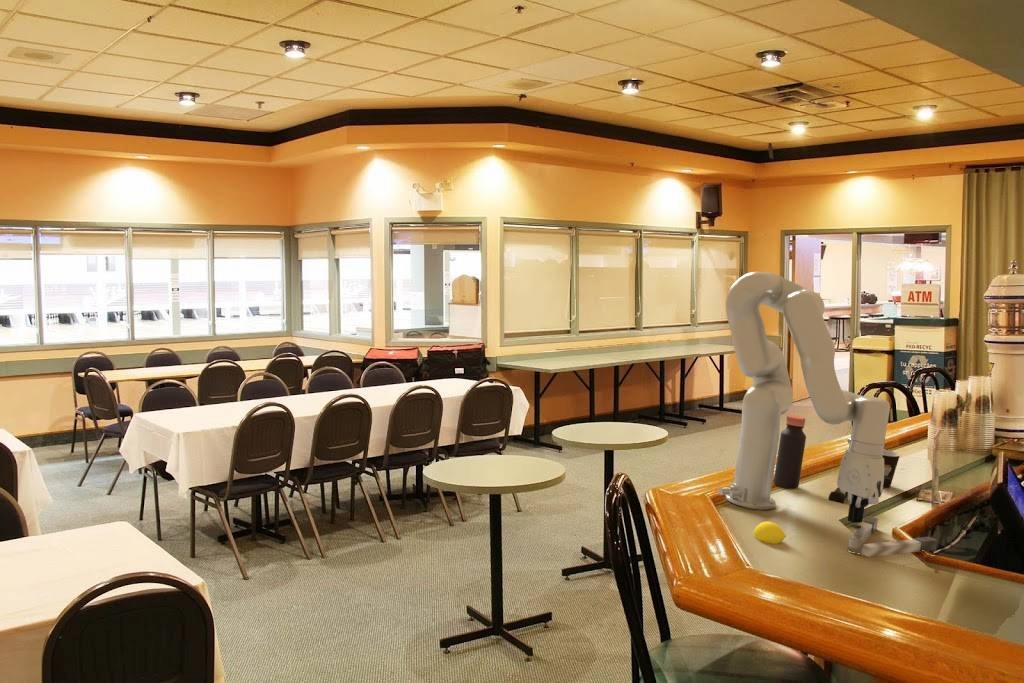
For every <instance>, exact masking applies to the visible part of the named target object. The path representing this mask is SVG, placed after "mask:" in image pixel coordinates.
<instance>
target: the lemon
mask: <svg viewBox="0 0 1024 683" xmlns="http://www.w3.org/2000/svg"><path fill="white" fill-rule="evenodd" d="M753 534H754V537H755V538H756V540H758V541H760V542H762V543H766V544H772V545H778V544H781V543H782V541H784V539H786V537H787V535H786V534H785V532H784V531H783V529H782V528H781V526H779V525H778V524H777V523H775V522H772V521H768V520H767V521H763V522H760V523H759V524H758V525H756V527H755V528H754V530H753Z"/></svg>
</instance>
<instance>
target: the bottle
mask: <svg viewBox="0 0 1024 683" xmlns="http://www.w3.org/2000/svg"><path fill="white" fill-rule="evenodd" d="M785 422H786V424H785V425H786V428H785V429H783V430H782V431H781V432H780V435H779V442H778V448H777V455H776V462H775V468H774V475H773V484H774V485H775V486H777V487H781V488H784V489H789V490H790V489H791V490H794V489H798V488H799V487H800V486H799V485H800V479H801V473H802V465H803V459H804V453H805V446H806V443H807V442H806V440H807V436H806V434H805V432H804V431H803V429H804V427H805V424H806V423H805V422H806V417H803V416H800V415H795V414H788V415H786V420H785Z"/></svg>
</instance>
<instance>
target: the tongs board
mask: <svg viewBox="0 0 1024 683" xmlns="http://www.w3.org/2000/svg"><path fill="white" fill-rule="evenodd" d="M937 545H938V540H937V539H936V538H934V537H931V536H922V537H914V538H912V539H905V540H904V539H903V540H894V541H885V542H884V541H883V542H873V543H863V542H862V541H861V540H858V539H852V538H849V540H848V546H847V551H848V550H849V551H851V552H855V553H860V555H862V554H863V555H862V556H864V555H865V556H864V557H866V556H868V557H867V558H870V557H881V556H890V555H897V554H898V555H900V554H906V553H908V554H909V553H916V552H918V553H919V552H921V551H922V550H925V551H924V552H931V551H936V550H937ZM922 552H923V551H922Z"/></svg>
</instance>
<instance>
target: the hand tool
mask: <svg viewBox="0 0 1024 683" xmlns="http://www.w3.org/2000/svg"><path fill="white" fill-rule="evenodd" d="M846 499H847V497H846V495H845V494H844V493H842V492H841V491H840V488H839V487H838V486H837V487H836V489H834V491H830V493H829V495H828V501H830V502H834V503H839V504H843V505H844V502H845V501H846Z"/></svg>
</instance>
